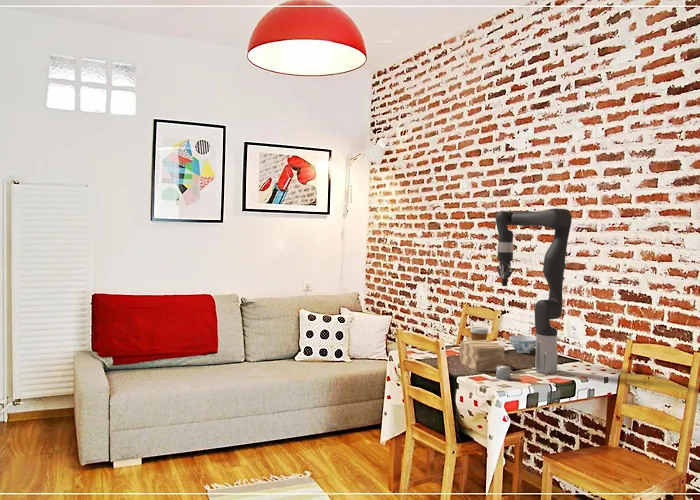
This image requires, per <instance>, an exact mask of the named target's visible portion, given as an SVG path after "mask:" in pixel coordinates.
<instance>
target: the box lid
mask: <svg viewBox="0 0 700 500" xmlns="http://www.w3.org/2000/svg"><path fill="white" fill-rule="evenodd" d="M460 342H462V343H464V344H466V345H468V346H470V347H472V348H475V349H504V350H505V347H504V346H502V345H500V344H498V343H495V342H493V341H491V340H488V339H486V340H472V339H471V340H460V341H459V343H460Z"/></svg>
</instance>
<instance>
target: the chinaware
mask: <svg viewBox="0 0 700 500" xmlns="http://www.w3.org/2000/svg"><path fill="white" fill-rule="evenodd" d="M509 343H510V345H511V346H512V348H513V349H514V350H516V353H518V354H523V353H528V354H531V352H532V351H533V350H534V349H536V336H532V335H523V334H522V335H519V334H517V335H516V334H514V335H509Z"/></svg>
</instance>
